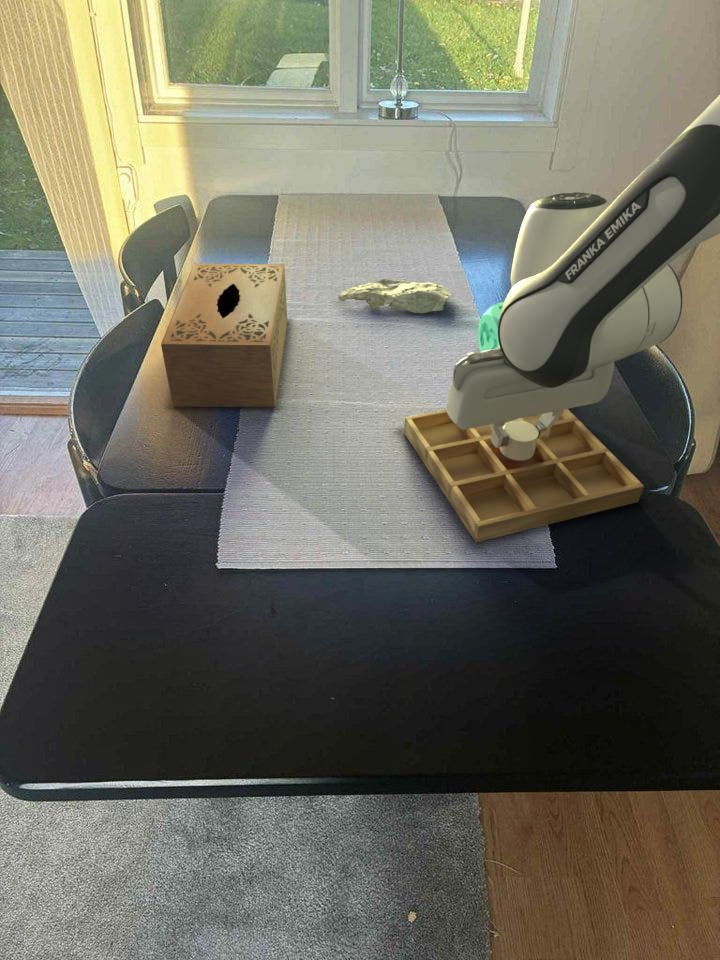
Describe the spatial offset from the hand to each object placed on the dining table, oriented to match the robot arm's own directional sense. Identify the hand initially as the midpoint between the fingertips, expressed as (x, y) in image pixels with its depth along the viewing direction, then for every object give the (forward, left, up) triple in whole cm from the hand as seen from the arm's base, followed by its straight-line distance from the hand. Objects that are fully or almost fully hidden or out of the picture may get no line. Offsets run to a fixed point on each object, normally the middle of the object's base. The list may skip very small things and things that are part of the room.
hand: (519, 439), depth 88 cm
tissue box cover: (+37, +29, -4) cm, 47 cm away
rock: (+47, -3, -4) cm, 47 cm away
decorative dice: (+24, -12, -4) cm, 27 cm away
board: (0, 0, -4) cm, 4 cm away
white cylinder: (0, 0, -2) cm, 2 cm away
